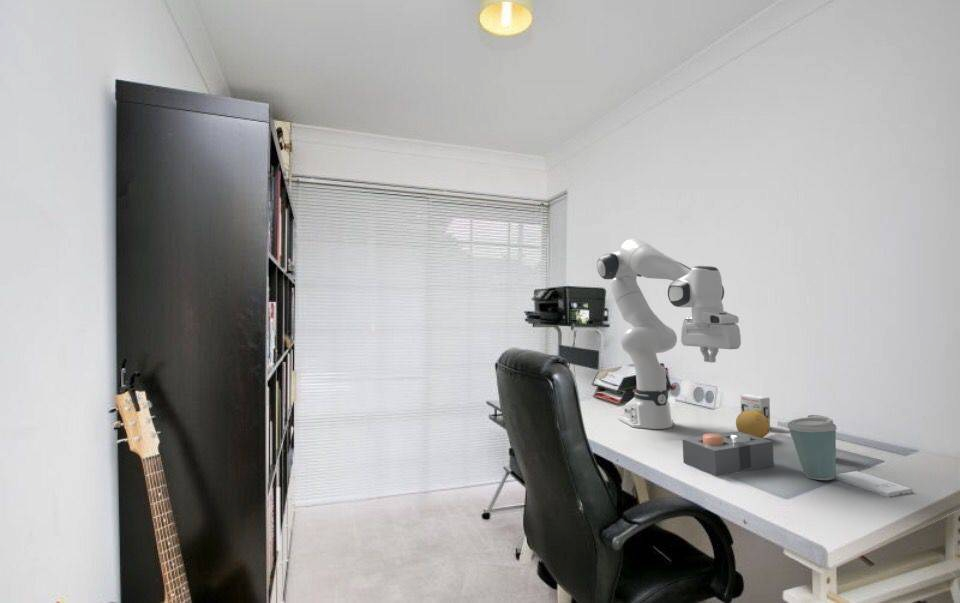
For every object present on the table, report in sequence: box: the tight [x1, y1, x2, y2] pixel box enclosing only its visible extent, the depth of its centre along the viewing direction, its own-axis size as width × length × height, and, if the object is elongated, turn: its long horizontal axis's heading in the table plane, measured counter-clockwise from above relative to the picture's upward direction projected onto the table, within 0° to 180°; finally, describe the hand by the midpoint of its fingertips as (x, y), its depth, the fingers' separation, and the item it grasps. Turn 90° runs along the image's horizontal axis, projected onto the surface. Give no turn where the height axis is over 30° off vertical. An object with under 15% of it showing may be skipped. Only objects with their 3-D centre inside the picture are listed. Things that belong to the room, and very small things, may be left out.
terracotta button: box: [702, 433, 723, 447], centre depth 130 cm, size 5×5×7 cm
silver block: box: [730, 433, 750, 442], centre depth 133 cm, size 5×5×7 cm
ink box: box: [740, 393, 771, 430], centre depth 168 cm, size 9×5×12 cm, turn 24°
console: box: [682, 430, 775, 477], centre depth 131 cm, size 12×21×7 cm, turn 108°
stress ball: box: [735, 410, 770, 439], centre depth 154 cm, size 10×10×10 cm
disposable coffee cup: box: [787, 416, 838, 481], centre depth 120 cm, size 11×11×15 cm
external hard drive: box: [834, 470, 914, 498], centre depth 113 cm, size 2×8×12 cm
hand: (709, 362), depth 139 cm, fingers closed
